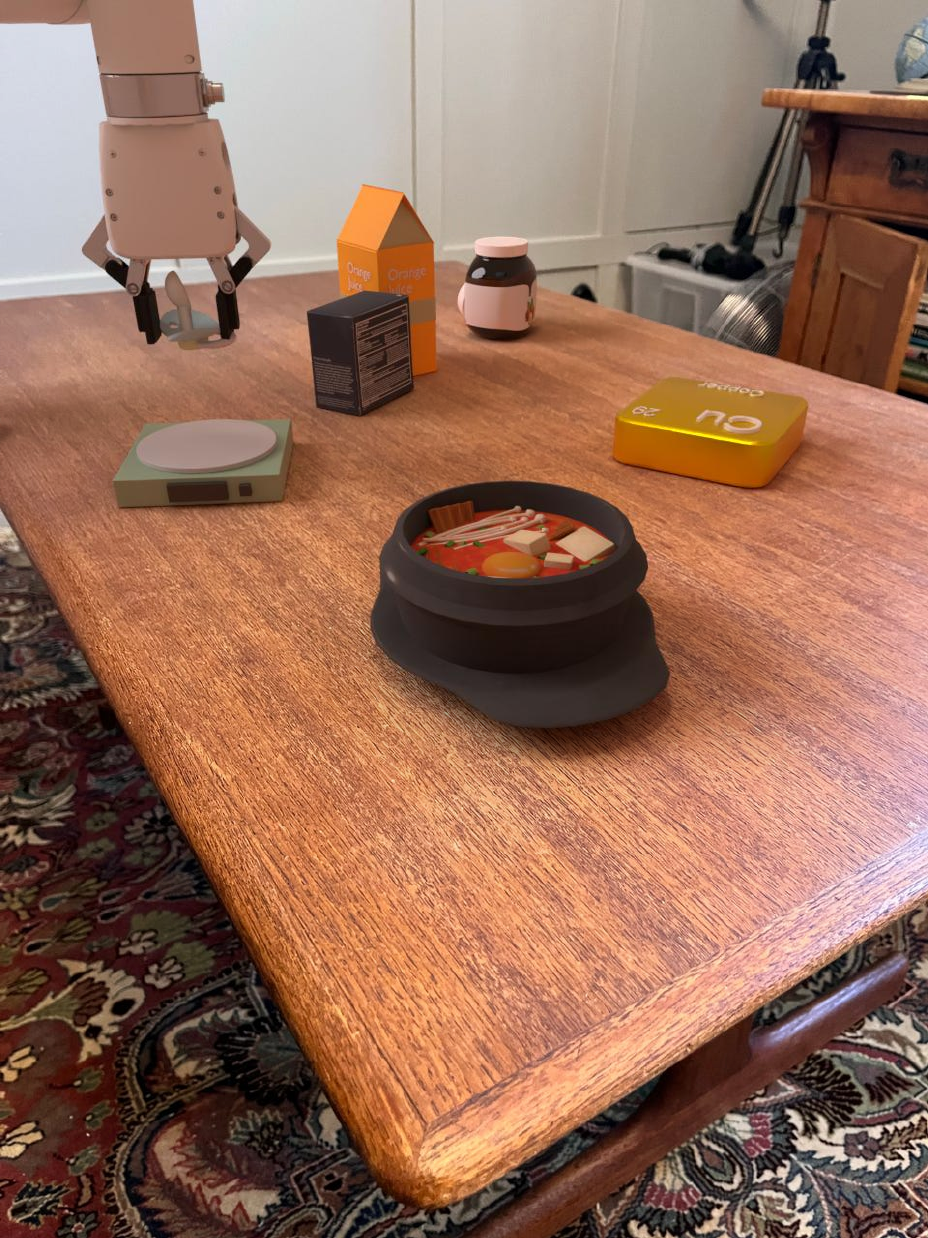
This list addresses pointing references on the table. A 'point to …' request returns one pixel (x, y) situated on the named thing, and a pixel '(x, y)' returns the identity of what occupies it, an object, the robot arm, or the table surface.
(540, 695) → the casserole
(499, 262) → the spread jar
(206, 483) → the scale
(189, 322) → the pacifier
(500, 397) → the table surface
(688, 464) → the element tile
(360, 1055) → the table surface
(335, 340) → the small box
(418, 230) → the orange juice
